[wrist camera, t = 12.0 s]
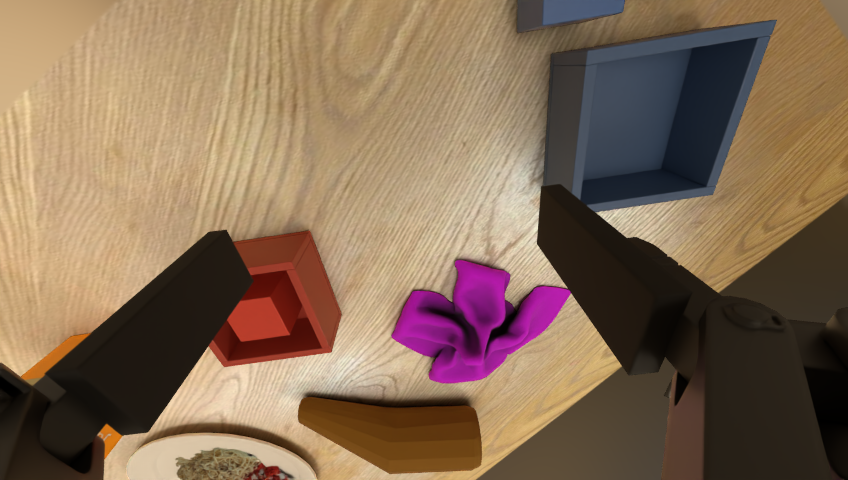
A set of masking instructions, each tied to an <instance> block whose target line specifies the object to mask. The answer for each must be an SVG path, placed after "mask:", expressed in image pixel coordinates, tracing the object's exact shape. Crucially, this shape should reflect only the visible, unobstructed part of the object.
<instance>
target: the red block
mask: <svg viewBox="0 0 848 480" xmlns="http://www.w3.org/2000/svg"><path fill="white" fill-rule="evenodd" d="M251 276H252V278H253V280H254V282H253V283H252V285H251V286H250V287H249V289H248V290H247V292H246V293H245V295H244V296H243V297H242V299H241V300H240V302H239V303H238V305H237V306H236V307H235V309H234V310H233V312H232V313H231V315H230V316H229V317H228V319H227V321H228V322H229V324H230V325H231V327H232V328H233V330H234V332H235V333H236V335H237V336H238V338H239V339H240V341H241V342H243V341H250V340H257V339H264V338H271V337H279V336H286V335H290V333H291V331H292V328H293V326H294V324H295V322H296V319H297V317H298V315H299V312H300V310H301V308H302V303H301V301H300V299H299V297H298V295H297V293H296V290H295V288H294V286H293V284H292V282H291V280H290V277H289V275H288V273H287V271H286V270H282V271H276V272H269V273H262V274H255V275H251Z"/></svg>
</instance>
